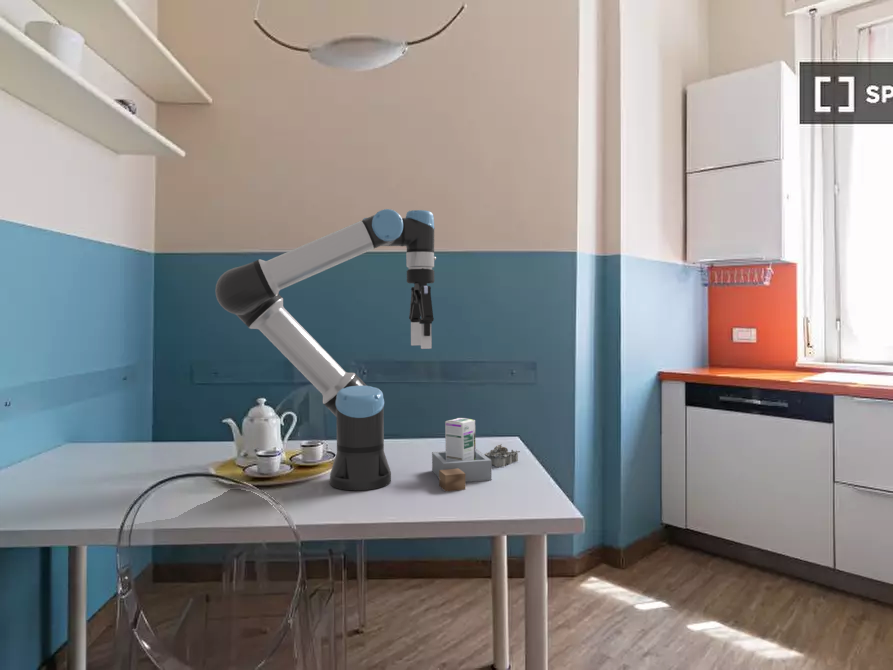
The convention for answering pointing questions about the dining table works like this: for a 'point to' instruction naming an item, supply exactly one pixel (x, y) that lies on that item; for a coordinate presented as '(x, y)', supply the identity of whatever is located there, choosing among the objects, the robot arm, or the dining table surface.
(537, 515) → the dining table surface
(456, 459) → the syrup box
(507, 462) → the egg carton
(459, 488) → the walnut stub
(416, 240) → the robot arm
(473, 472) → the socket
